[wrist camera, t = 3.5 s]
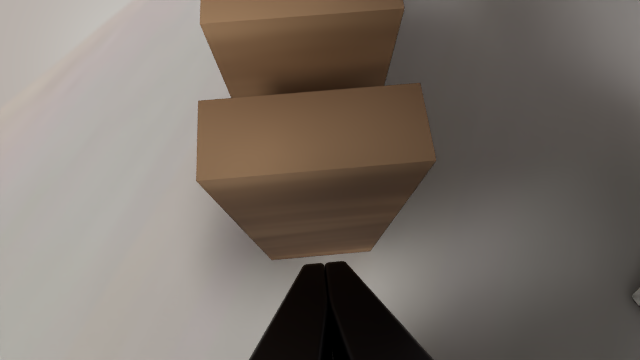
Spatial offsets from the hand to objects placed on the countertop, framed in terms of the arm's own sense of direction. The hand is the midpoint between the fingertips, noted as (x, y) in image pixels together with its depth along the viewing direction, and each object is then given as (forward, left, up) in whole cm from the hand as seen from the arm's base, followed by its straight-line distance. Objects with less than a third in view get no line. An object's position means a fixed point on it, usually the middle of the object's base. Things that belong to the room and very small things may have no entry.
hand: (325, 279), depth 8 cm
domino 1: (+1, -2, -8) cm, 8 cm away
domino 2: (+3, -5, -8) cm, 10 cm away
